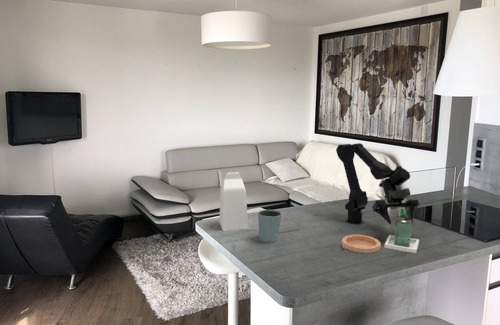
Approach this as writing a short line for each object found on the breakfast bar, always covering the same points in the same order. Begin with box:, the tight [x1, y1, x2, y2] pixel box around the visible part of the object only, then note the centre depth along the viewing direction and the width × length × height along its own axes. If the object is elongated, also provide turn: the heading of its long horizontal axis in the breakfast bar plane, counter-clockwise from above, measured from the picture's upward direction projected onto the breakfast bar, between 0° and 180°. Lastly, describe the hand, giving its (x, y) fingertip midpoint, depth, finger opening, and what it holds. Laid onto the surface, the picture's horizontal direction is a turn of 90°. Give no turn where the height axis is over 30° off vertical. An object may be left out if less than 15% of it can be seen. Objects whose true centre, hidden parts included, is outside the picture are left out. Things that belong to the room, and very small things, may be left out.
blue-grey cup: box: [257, 209, 282, 244], centre depth 173 cm, size 10×10×12 cm
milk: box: [219, 171, 249, 232], centre depth 189 cm, size 12×12×26 cm
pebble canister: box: [394, 217, 413, 247], centre depth 164 cm, size 6×6×11 cm
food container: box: [396, 198, 409, 218], centre depth 197 cm, size 12×6×10 cm, turn 168°
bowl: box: [341, 234, 382, 254], centre depth 165 cm, size 15×15×3 cm
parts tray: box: [384, 234, 420, 254], centre depth 165 cm, size 12×12×2 cm
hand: (401, 223), depth 165 cm, fingers open, 9 cm apart
